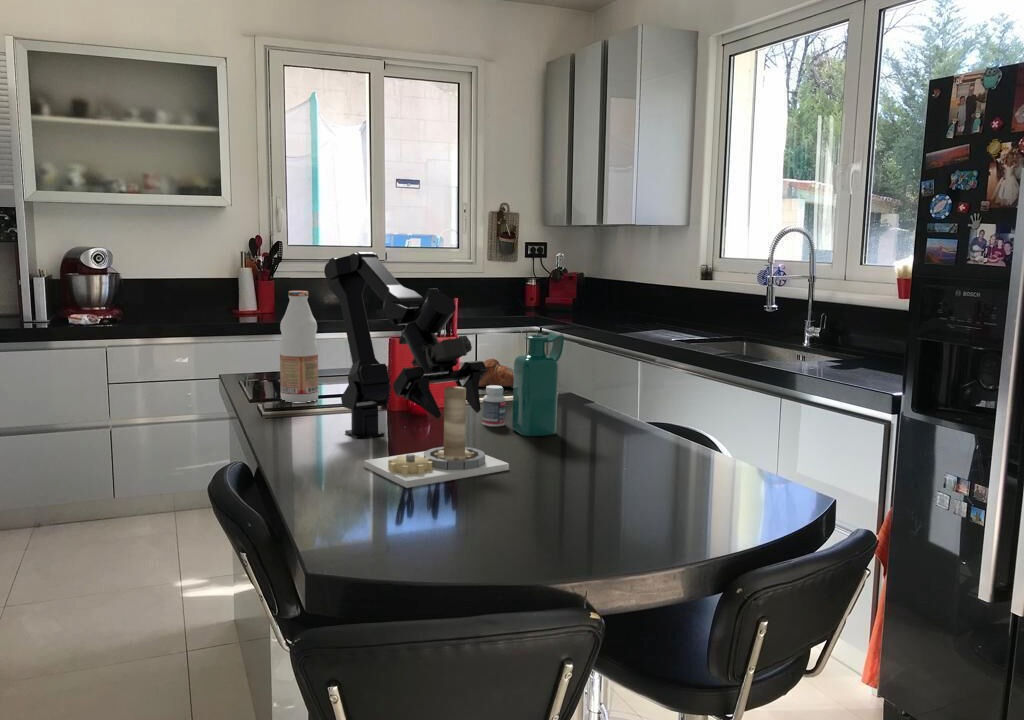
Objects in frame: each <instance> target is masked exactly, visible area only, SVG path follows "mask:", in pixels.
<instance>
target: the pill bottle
mask: <svg viewBox="0 0 1024 720" xmlns="http://www.w3.org/2000/svg"><path fill="white" fill-rule="evenodd" d="M485 393H486V394H485V395H484V396H483V398H482V425H483V426H486V427H498V428H499V427H503V426H505V425H506V404H507V403H506V397H505V396H504V395H503V394H504V388H503V387H502V386H497V385H490V386H486V388H485Z"/></svg>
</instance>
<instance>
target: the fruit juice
mask: <svg viewBox="0 0 1024 720" xmlns="http://www.w3.org/2000/svg"><path fill="white" fill-rule="evenodd" d="M287 294H288V298H289V302H288V305H287V308H286V310H285V313H284V315H283V317H282V319H281V321H280V324H279V326H280V327H279V329H280V332H281V333H280V334H281V337H282V338H281V341H280V344H279V364H280V365H279V373H280V378H279V379H280V381H279V383H280V384H279V385H280V400H281V399H282V400H285V401H290V402H308V401H314V400H316V401H318V398H319V348H318V346H319V345H318V342H317V340H316V334H317V331H318V323H317V320H316V319H315V317H314V315H313V312H312V309H311V306H310V305H309V302H308V298H309V291H308V290H289V291H288V292H287ZM282 400H281V401H282ZM314 402H315V401H314Z"/></svg>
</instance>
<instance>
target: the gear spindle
mask: <svg viewBox="0 0 1024 720" xmlns="http://www.w3.org/2000/svg"><path fill="white" fill-rule="evenodd" d="M443 392H444V398H443V399H444V400H443V401H444V403H443V405H444V407H443V411H444V412H443V447H444V450H438V453H434V457H435V458H437V459H444V460H466V459H473V458H474V452H473V453H471V452H469V451H468V450H466V449H465V447H466V416H467V415H466V413H467V412H466V411H467V409H466V407H467V401H466V388H464V387H458V386H446V387H444V391H443Z"/></svg>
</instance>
